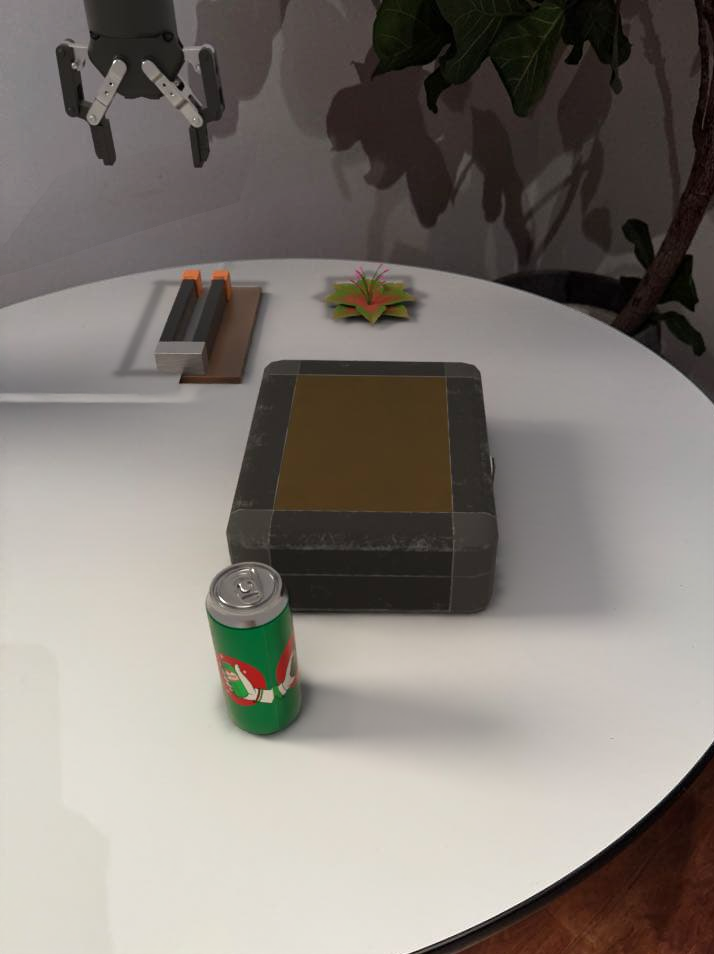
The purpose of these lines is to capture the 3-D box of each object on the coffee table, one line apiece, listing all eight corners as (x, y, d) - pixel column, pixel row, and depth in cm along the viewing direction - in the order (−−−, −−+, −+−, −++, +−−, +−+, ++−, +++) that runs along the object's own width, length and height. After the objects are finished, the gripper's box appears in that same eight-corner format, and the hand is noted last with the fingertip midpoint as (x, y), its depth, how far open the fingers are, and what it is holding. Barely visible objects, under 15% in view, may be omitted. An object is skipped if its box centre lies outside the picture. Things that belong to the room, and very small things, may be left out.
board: (124, 383, 90) (122, 376, 89) (162, 292, 105) (160, 286, 104) (240, 383, 90) (239, 376, 89) (262, 293, 105) (261, 286, 104)
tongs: (188, 290, 103) (184, 269, 102) (232, 290, 103) (229, 270, 102) (156, 375, 90) (151, 353, 88) (207, 375, 90) (203, 353, 88)
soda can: (285, 669, 62) (269, 547, 54) (314, 720, 59) (301, 599, 51) (218, 695, 61) (191, 573, 53) (243, 750, 57) (219, 629, 49)
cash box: (500, 618, 66) (510, 543, 61) (233, 614, 66) (220, 540, 61) (481, 427, 85) (487, 357, 80) (272, 424, 85) (265, 354, 79)
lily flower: (319, 283, 107) (317, 247, 104) (416, 281, 107) (417, 245, 104) (318, 332, 98) (315, 294, 95) (424, 329, 99) (425, 292, 96)
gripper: (23, -28, 70) (70, 177, 81) (201, -23, 71) (224, 180, 82) (49, -45, 76) (90, 149, 87) (214, -40, 76) (234, 152, 87)
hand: (155, 164), depth 84 cm, fingers open, 8 cm apart
